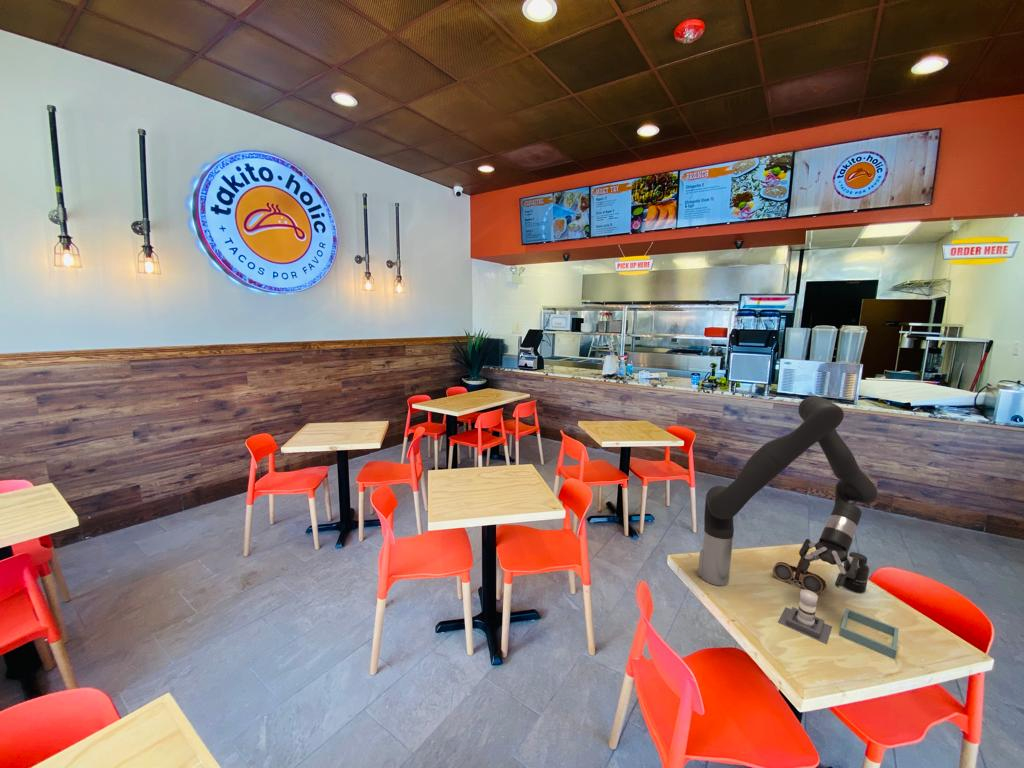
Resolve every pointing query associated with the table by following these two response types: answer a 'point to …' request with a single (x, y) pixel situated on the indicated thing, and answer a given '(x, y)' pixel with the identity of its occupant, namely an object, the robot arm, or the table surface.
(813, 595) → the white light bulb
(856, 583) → the supplement bottle
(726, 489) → the robot arm
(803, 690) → the table surface
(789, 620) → the grey recessed base plate
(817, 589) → the goggles
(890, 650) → the parts tray
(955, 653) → the table surface
